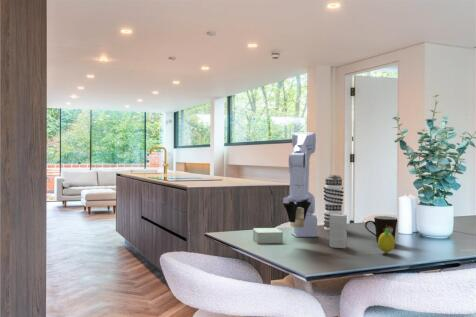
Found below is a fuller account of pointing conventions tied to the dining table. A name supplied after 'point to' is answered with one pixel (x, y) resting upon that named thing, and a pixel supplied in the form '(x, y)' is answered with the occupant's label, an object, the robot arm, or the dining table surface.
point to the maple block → (298, 218)
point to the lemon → (386, 241)
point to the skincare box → (338, 231)
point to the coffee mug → (383, 225)
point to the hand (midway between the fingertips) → (297, 221)
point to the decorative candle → (332, 198)
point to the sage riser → (267, 235)
